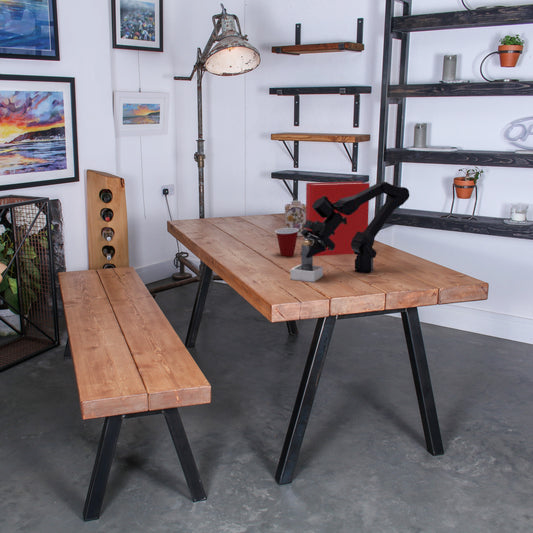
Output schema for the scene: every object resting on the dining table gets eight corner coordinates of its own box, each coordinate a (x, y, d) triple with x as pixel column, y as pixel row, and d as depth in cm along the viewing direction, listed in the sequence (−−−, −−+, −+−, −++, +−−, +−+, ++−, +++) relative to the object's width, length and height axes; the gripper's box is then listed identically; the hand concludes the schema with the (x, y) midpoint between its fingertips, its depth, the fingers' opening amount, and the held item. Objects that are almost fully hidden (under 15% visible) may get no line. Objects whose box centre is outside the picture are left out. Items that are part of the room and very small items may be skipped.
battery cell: (312, 270, 242) (312, 237, 238) (313, 273, 237) (313, 239, 234) (300, 271, 242) (300, 237, 238) (301, 273, 237) (301, 240, 234)
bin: (322, 276, 242) (322, 266, 241) (313, 282, 234) (313, 272, 233) (300, 273, 246) (300, 264, 245) (290, 279, 238) (290, 269, 237)
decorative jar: (307, 237, 320) (307, 202, 315) (284, 237, 320) (284, 202, 315) (306, 232, 331) (306, 199, 327) (284, 232, 331) (284, 199, 327)
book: (360, 249, 290) (362, 181, 282) (367, 253, 282) (369, 183, 274) (304, 252, 284) (305, 182, 276) (309, 256, 276) (310, 184, 269)
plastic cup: (271, 254, 281) (271, 228, 278) (293, 252, 284) (293, 226, 282) (280, 259, 271) (280, 232, 268) (302, 257, 275) (302, 230, 272)
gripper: (305, 208, 244) (280, 238, 242) (328, 215, 227) (301, 247, 225) (322, 226, 249) (298, 256, 247) (346, 234, 232) (320, 266, 230)
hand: (304, 256), depth 237 cm, fingers closed on battery cell, 4 cm apart
